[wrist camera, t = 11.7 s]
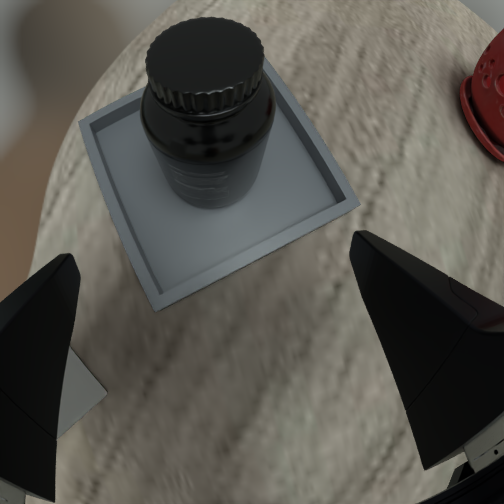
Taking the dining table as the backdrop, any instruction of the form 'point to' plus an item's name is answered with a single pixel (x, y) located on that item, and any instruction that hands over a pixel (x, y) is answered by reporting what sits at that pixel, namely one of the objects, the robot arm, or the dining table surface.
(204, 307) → the dining table surface
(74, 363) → the milk carton
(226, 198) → the supplement bottle
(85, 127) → the charcoal tray
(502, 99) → the plant pot
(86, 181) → the dining table surface
